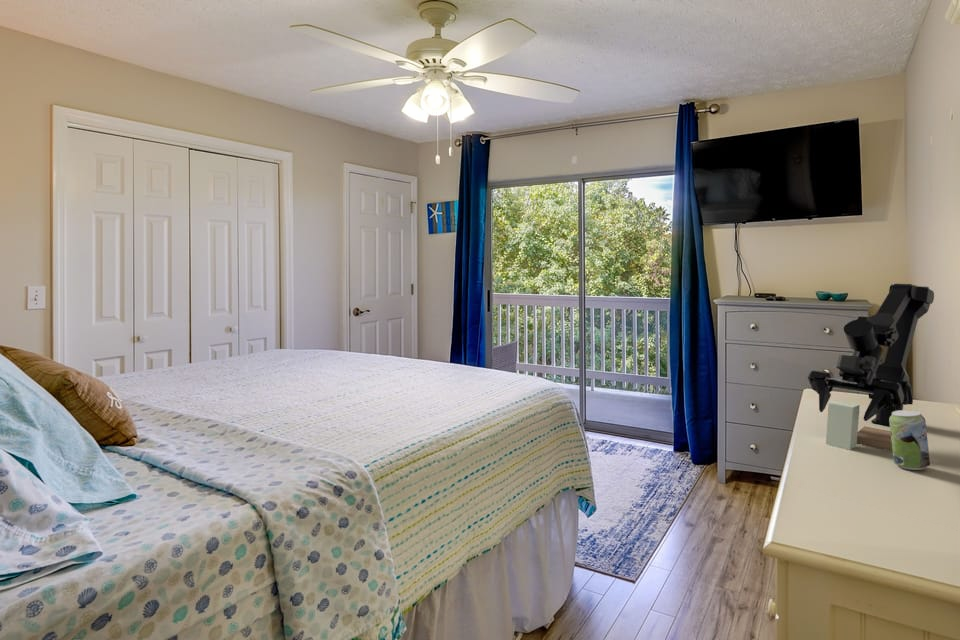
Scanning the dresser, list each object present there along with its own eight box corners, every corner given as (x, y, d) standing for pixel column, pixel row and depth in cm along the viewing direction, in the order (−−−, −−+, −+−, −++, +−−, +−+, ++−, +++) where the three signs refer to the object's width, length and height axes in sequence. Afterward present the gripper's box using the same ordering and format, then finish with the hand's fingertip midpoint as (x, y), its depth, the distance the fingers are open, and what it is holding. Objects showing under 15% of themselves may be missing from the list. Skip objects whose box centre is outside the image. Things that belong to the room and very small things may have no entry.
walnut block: (863, 435, 139) (864, 426, 138) (913, 445, 132) (914, 435, 131) (853, 445, 132) (854, 435, 131) (905, 456, 125) (906, 445, 124)
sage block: (832, 441, 133) (835, 400, 132) (856, 446, 129) (859, 404, 128) (825, 444, 131) (828, 403, 130) (849, 450, 127) (852, 407, 126)
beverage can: (936, 474, 113) (941, 416, 111) (895, 471, 114) (900, 414, 113) (918, 463, 119) (923, 408, 117) (879, 460, 120) (884, 406, 119)
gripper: (813, 338, 138) (790, 387, 132) (904, 347, 123) (882, 403, 118) (824, 366, 143) (802, 414, 138) (912, 378, 129) (892, 432, 123)
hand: (842, 415), depth 129 cm, fingers open, 9 cm apart
